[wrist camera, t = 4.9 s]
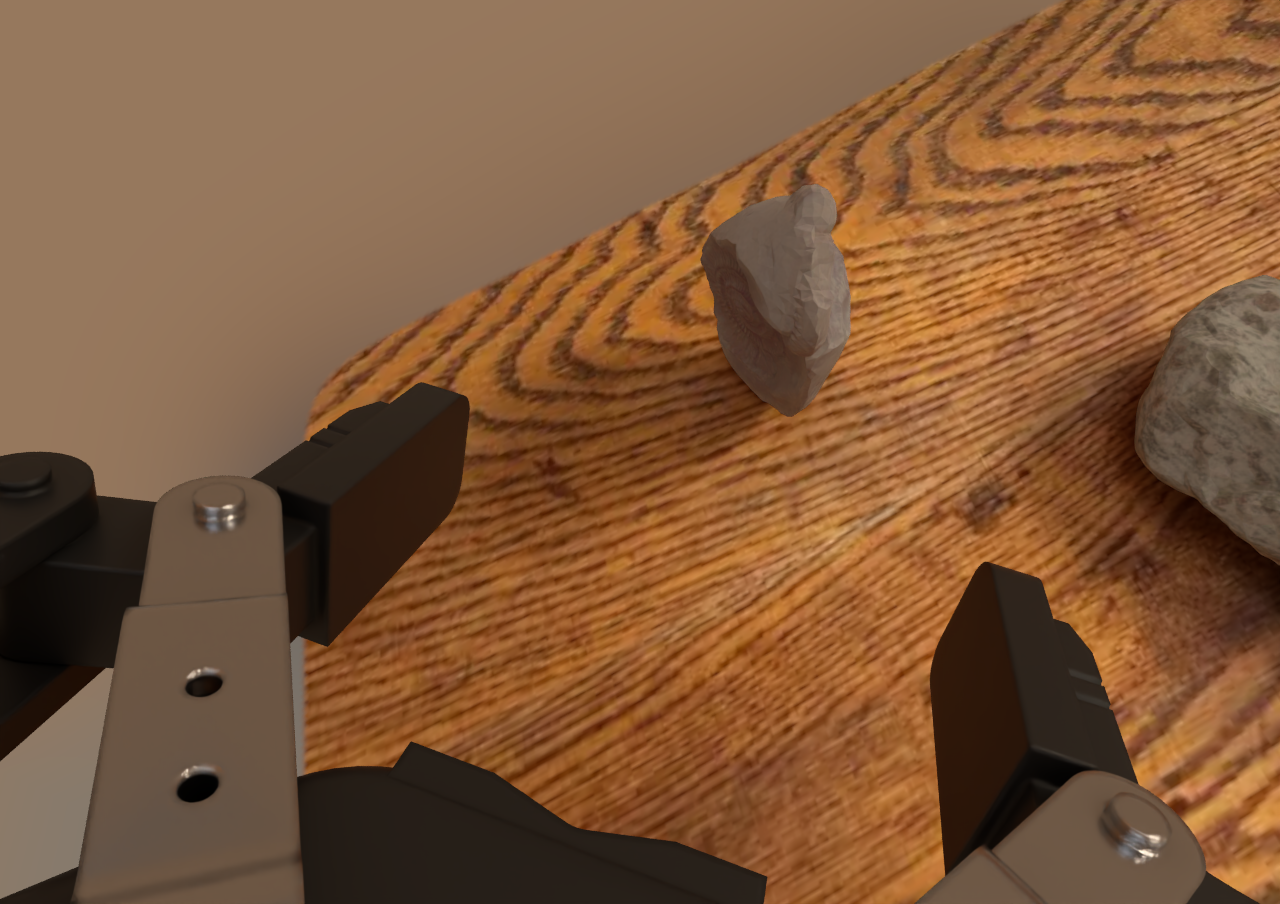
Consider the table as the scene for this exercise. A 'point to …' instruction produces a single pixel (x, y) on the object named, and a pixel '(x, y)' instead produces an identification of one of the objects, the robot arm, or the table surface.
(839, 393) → the table surface
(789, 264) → the grey brown rock
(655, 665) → the table surface
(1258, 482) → the decorative stone
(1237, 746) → the table surface
